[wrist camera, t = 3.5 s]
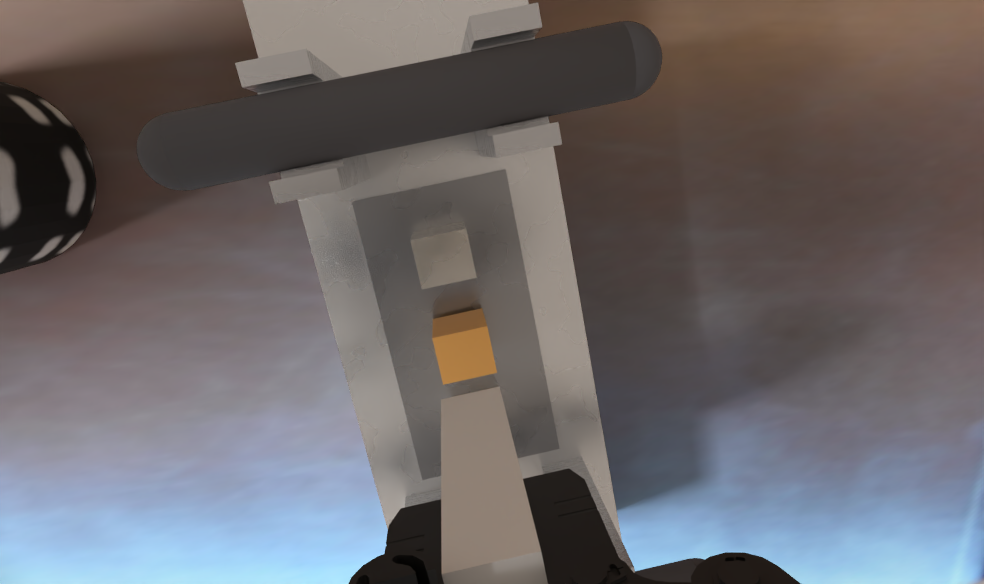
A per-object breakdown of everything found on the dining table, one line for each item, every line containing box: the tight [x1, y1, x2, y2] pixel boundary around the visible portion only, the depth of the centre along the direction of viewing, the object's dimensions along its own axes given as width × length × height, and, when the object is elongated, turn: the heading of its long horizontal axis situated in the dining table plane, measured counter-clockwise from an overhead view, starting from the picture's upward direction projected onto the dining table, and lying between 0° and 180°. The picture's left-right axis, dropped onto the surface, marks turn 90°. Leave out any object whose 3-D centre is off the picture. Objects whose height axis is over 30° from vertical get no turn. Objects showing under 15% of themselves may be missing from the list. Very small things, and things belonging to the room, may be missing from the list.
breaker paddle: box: [432, 308, 497, 385], centre depth 24 cm, size 2×2×3 cm
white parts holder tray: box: [235, 0, 635, 573], centre depth 25 cm, size 10×28×13 cm, turn 11°
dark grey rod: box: [137, 21, 662, 191], centre depth 17 cm, size 14×2×2 cm, turn 101°
